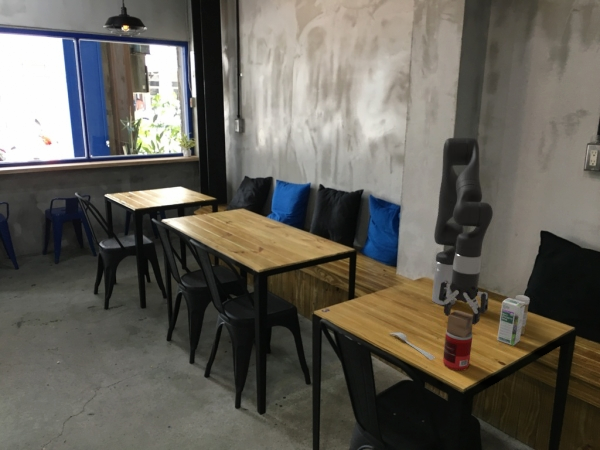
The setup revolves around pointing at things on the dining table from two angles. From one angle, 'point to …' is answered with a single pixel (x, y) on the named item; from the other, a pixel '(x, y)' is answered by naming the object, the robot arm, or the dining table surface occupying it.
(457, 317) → the walnut cube
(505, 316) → the syrup box
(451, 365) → the canned food
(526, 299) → the sprinkles bottle
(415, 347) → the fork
